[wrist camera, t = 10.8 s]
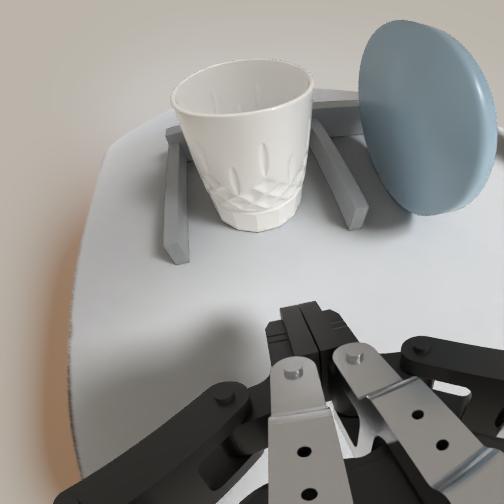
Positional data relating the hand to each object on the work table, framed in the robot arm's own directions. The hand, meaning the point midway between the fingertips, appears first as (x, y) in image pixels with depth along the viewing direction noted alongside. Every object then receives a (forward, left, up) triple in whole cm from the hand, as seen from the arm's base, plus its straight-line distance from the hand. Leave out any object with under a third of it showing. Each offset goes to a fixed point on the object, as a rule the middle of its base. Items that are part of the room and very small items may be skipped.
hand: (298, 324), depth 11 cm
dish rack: (-12, -4, -5) cm, 13 cm away
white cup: (-9, -8, -5) cm, 13 cm away
